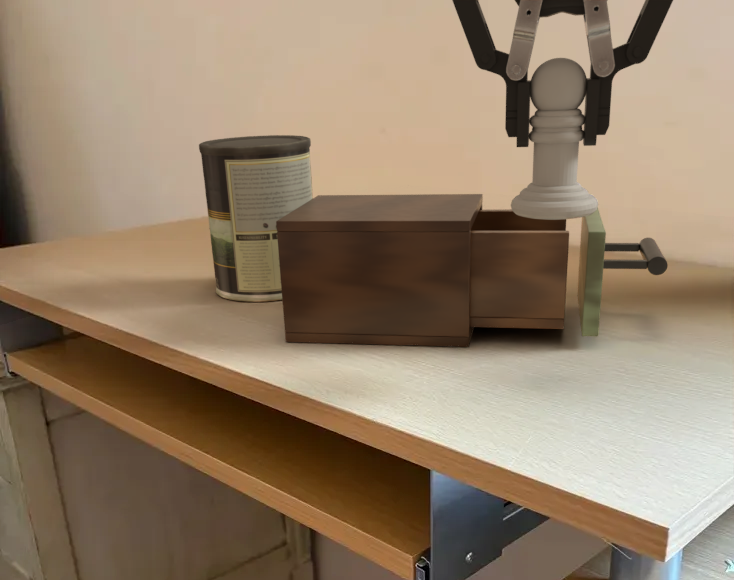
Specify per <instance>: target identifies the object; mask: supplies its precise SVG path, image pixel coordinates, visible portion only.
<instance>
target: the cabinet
mask: <svg viewBox="0 0 734 580" xmlns="http://www.w3.org/2000/svg"><path fill="white" fill-rule="evenodd" d="M483 195H484V194H483V193H445V194H444V193H442V194H440V193H437V194H435V193H434V194H433V193H432V194H431V193H429V194H428V193H427V194H425V193H424V194H326V195H325V194H324V195H322V194H319V195H317V196H315V197H313V199H311V200H310V201H308V202H307V203H305V204H303V205H302V206H300V207H298V208H297V209H295V210H294V211H292V212H290V213H289V214H287V215H285V216H284V217H282V218H281V219H279V220H277V221H276V227H277V239H278V251H279V264H280V277H281V289H282V300H281V301H282V313H283V324H284V326H283V327H284V338H285V342H286V343H315V344H321V343H322V344H345V345H346V344H348V345H349V344H350V345H351V344H353V345H383V346H384V345H387V346H419V347H420V346H421V347H452V348H453V347H457V348H470V347H469V346H470V343H471V341H472V336H473V332H474V329H475V327H470V260H471V228H472V225H473V223H474V221H475V219H476V216H477V214H478V212H479V210H483V202H484V201H483V199H484V198H483V197H484V196H483Z"/></svg>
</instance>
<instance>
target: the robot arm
mask: <svg viewBox="0 0 734 580" xmlns="http://www.w3.org/2000/svg"><path fill="white" fill-rule="evenodd" d="M514 1H515V3H516V5H517V7H518V10H517V13H516V14H517V15H516V19H515V24H514V29H513V34H512V40H511V43H510V48H509V52H508V53H507V52H504V51H502V50H499V49H497V48H496V45H495V42H494V39H493V37H492V34H491V32H490V28H489V26H488V24H487V21H486V18H485V15H484V12H483V9H482V7H481V4H480V0H452V3H453V6H454V8H455V11H456V14H457V16H458V19H459V22H460V25H461V27H462V30H463V32H464V35H465V37H466V40H467V44H468V46H469V49H470V51H471V54H472V57H473V60H474V62H475V65H476V66H477V67H478V68H479V69H481V70H482V71H487V72H490V73H492V74H494V75H495V74H496V75H498V76H500V77H501V78H502V79H503V81H504V82H505V121H504V122H505V126H504V127H505V132H506V134H507V137H508V138H516V148H529V144H530V139H529V133H530V123H529V120H530V118H531V97H530V82H531V79H530V80H528V78H529V77H528V76H529V68H530V67H529V66H530V62H531V58H532V55H533V54H532V53H533V49H534V44H535V40H536V37H537V31H538V29H539V28H538V27H539V23H540V20H541V19H540V18H549V17H552V16H555V15H558V14H562V13H563V14H566V15H571V16H583V23H584V31H585V36H586V42H587V48H588V55H589V62H590V68H589V77H588V78H587V77H586V78H587V92H586V95H585V98H584V114H583V115H584V116H585V124H583V131H584V139H583V140H582V145H583V146H584V147H592V146H594V147H595V146H597V140H598V139H597V136H605V135H606V134H607V132H608V130H609V128H610V121H611V103H612V90H613V89H612V88H613V80H614V78H615V76H616V75H617V74H618V73H619V72H620V71H621V70H624V69H626V68H628V67H631V66H634V65H638V64H641V63H643V62H644V61H646V59H647V58H648V56H649V54H650V52H651V50H652V47H653V45H654V43H655V40H656V38H657V37H658V34H659V33H660V30H661V28H662V25H663V23H664V21H665V19H666V18H667V14H668V12H669V11H670V8H671V7H672V4H673V2H674V0H644V3H643V4H642V7H641V9H640V12H639V14H638V16H637V19H636V20H635V23H634V25H633V27H632V29H631V31H630V34H629V36H628V38H627V40H626V43H624V44H621V45H618V46H616V47H613V40H612V33H611V21H610V14H609V6H608V0H514Z"/></svg>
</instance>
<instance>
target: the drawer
mask: <svg viewBox="0 0 734 580" xmlns="http://www.w3.org/2000/svg"><path fill="white" fill-rule="evenodd" d="M580 225H581V226H580V242H579V243H580V244H579V258H578V275H577V293H576V297H577V305H578V315H579V323H580V331H581V336H582V337H599V334H600V332H599V331H600V320H601V307H602V291H603V280H604V279H603V278H604V270H648V272H649V273H650V274H651V275H654V276H660V275H662V274H664V273H665V272H666V271H667V269H668V265H669V264H668V261H667V259H666V257H665V256H664V254H663V252H662V251H661V249H660V246H659V245H658V243H657V241H656V240H655V239H654V238H652V237H644V238H643V239H641V240H640V241H639V242H606V239H607V237H606V236H607V232H606V229H605V225H604V222H603V219H602V216H601V213H600V210H599V206H598V207H597V210H596V211H595V212H594V213H593V214H591V215H589V216H585V217H581V224H580ZM569 245H570V231H569V230H567V219H560V220H546V219H534V218H527V217H522V216H519V215H517V214H515V213H514V212H513V211H512V209H510V208H509V209H505V208H504V209H482V210H479V212H478V214H477V216H476V219H475V221H474V223H473V225H472V228H471V260H470V327H474V328H495V329H496V328H498V329H499V328H500V329H543V330H544V329H545V330H564V329H565V317H566V314H565V313H566V300H567V283H568V281H567V280H568V264H569V263H568V262H569V247H570V246H569ZM606 252H621V253H622V252H625V253H627V252H629V253H630V252H635V253H636V252H637V253H638V252H639V253H640V255H641V257H642V259H619V258H618V259H613V258H612V259H608V258H607V259H606V258H605V253H606Z"/></svg>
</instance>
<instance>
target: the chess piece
mask: <svg viewBox="0 0 734 580" xmlns="http://www.w3.org/2000/svg"><path fill="white" fill-rule="evenodd" d="M530 80H531V82H530V102H531V103H532V105H533V106H534V108H535V109H536V111H534V114H533V115H531V116H530V120H529V126H530V127H531V131H529V141H530V142H531V143H533V153H532V154H533V155H532V156H533V157H532V159H533V160H532V180H531V182H530V183H529V184H528V185H527V186H526V187H524V188H522V189H521V191H520V192H519V193H518V194H517V195H516V196H515V197H513V198H512V200H511V203H510V208H511V209H512V211H513V212H514V213H515V214H517V215H519V216H522V217H527V218H534V219H546V220H560V219H566V220H573V219H578V218H582V217H585V216H589V215H591V214H593V213H594V212H595V211H596V210H597V207H598V208H599V201H598V199H597V197H596V196H595V195H593V194H592V193H589V191H588V190H587V189H586V188H585V187H583V185H582V184H580V182H578V169H579V168H578V167H579V149H580V142H583V139H584V129H583V126H584V124H585V116H584V114H583V111H582V110H581V108H580V107H581V105H582V103H583V102H584V101H585V95H586V92H587V74H586V72H585V70H584V68H583V67H582V65H580V63H578V62H576V60H573V59H571V58H567V57H556V58H550V59H548V60H545V61H544V62H542V63H541V64H540V65H539V66H538V67H537V68H536V69H535V70H534V72H533V73H532V76H531V78H530Z"/></svg>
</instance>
